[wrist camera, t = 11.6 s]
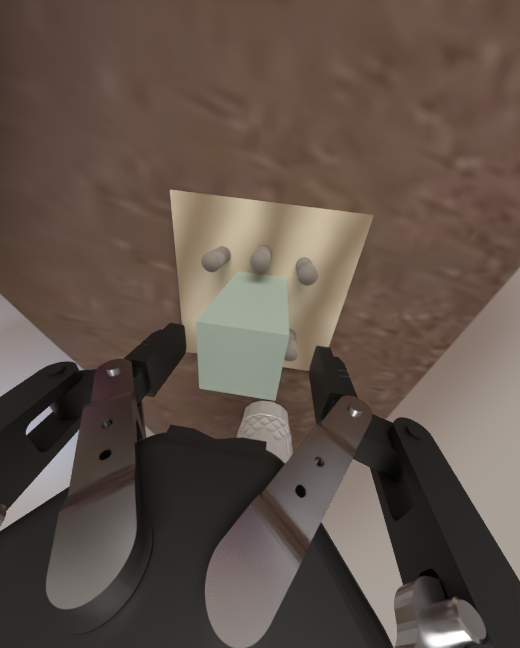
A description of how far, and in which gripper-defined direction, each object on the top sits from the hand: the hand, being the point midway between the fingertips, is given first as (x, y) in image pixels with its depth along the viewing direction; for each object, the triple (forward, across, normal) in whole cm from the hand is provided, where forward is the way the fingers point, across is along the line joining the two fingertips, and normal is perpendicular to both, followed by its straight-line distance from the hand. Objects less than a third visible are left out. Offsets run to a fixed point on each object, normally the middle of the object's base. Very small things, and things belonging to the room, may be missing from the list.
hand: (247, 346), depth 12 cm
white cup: (+10, -3, +19) cm, 22 cm away
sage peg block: (+8, 0, 0) cm, 8 cm away
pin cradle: (+10, 0, 0) cm, 10 cm away
